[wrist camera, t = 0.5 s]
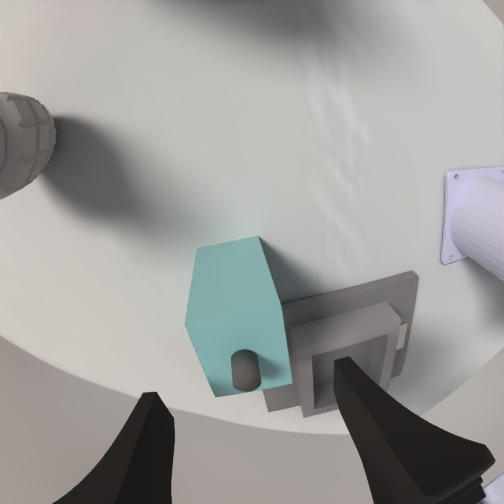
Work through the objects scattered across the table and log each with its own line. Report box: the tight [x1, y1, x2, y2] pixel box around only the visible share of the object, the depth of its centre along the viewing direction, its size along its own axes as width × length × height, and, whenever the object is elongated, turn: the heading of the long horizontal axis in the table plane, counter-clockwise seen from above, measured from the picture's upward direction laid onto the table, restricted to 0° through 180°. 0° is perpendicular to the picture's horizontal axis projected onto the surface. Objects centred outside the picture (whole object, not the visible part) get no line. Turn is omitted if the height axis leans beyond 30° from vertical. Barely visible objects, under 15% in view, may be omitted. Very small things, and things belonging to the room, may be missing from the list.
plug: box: [185, 236, 292, 397], centre depth 16 cm, size 4×5×10 cm
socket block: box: [263, 271, 418, 418], centre depth 22 cm, size 14×12×4 cm
